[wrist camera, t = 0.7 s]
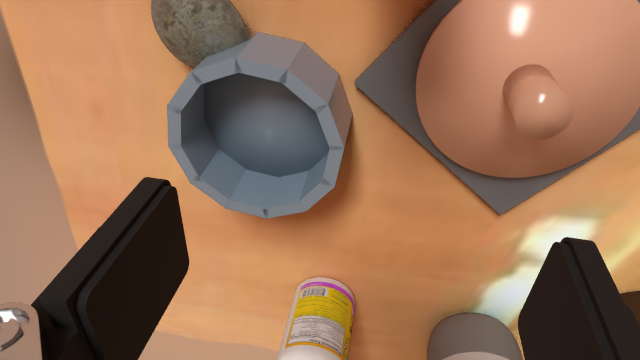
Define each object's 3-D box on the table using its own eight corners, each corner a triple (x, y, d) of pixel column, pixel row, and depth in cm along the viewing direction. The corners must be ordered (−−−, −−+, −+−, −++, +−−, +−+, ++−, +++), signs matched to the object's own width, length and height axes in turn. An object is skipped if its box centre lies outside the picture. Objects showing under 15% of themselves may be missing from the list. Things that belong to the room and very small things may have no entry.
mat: (714, 73, 30) (721, 78, 29) (498, 209, 39) (500, 215, 38) (558, -126, 25) (562, -126, 25) (355, 80, 34) (354, 84, 33)
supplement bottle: (335, 323, 51) (315, 438, 41) (285, 297, 50) (252, 409, 40) (368, 293, 47) (356, 412, 37) (315, 264, 46) (287, 378, 36)
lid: (696, 78, 29) (747, 115, 25) (503, 202, 37) (515, 247, 33) (556, -96, 25) (588, -89, 21) (373, 84, 33) (367, 117, 29)
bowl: (383, 113, 35) (379, 148, 31) (286, 202, 42) (271, 241, 38) (253, -3, 32) (227, 18, 27) (170, 114, 39) (139, 145, 34)
